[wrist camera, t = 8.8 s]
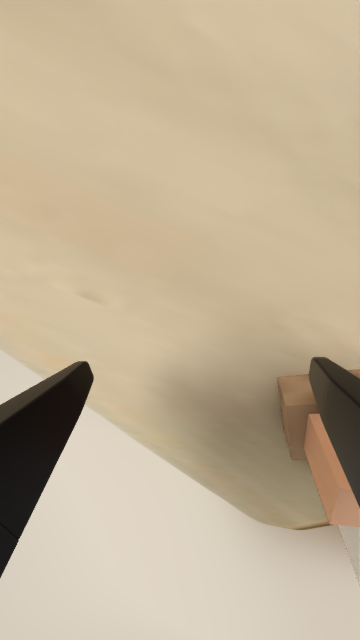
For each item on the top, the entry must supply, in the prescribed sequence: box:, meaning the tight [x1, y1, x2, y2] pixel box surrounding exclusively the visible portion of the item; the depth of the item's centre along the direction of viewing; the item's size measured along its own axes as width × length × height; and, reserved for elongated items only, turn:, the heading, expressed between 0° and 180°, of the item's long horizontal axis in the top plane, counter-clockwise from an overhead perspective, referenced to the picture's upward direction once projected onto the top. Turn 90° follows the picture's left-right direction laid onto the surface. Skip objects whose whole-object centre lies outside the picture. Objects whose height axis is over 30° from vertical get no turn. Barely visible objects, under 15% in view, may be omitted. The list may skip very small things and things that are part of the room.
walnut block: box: [277, 369, 360, 460], centre depth 23 cm, size 8×8×4 cm
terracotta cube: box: [304, 414, 360, 527], centre depth 18 cm, size 5×5×6 cm
